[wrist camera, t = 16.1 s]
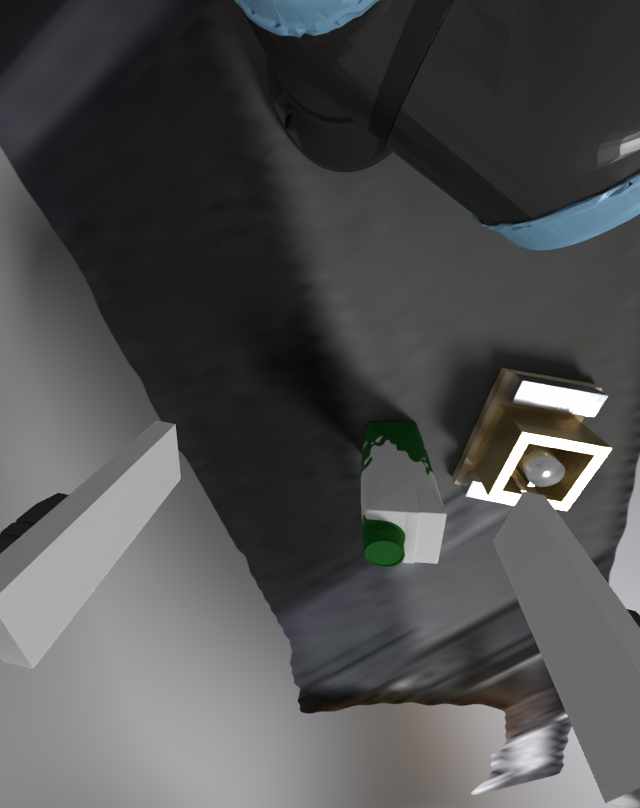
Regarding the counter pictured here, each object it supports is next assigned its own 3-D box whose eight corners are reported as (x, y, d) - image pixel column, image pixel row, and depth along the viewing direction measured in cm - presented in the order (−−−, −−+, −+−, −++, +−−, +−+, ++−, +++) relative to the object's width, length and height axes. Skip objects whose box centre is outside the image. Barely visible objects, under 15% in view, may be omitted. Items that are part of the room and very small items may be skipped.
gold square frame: (498, 403, 41) (522, 432, 35) (575, 417, 41) (612, 448, 35) (471, 462, 46) (488, 496, 40) (539, 474, 46) (566, 511, 39)
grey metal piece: (514, 373, 39) (542, 397, 33) (594, 387, 39) (638, 414, 33) (460, 484, 48) (475, 520, 42) (525, 497, 48) (549, 534, 42)
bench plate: (501, 367, 41) (506, 371, 39) (594, 383, 40) (602, 388, 39) (451, 477, 50) (454, 483, 48) (527, 491, 49) (532, 498, 48)
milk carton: (361, 416, 47) (360, 521, 29) (423, 417, 45) (462, 527, 28) (361, 462, 51) (360, 580, 33) (418, 464, 49) (448, 587, 32)
